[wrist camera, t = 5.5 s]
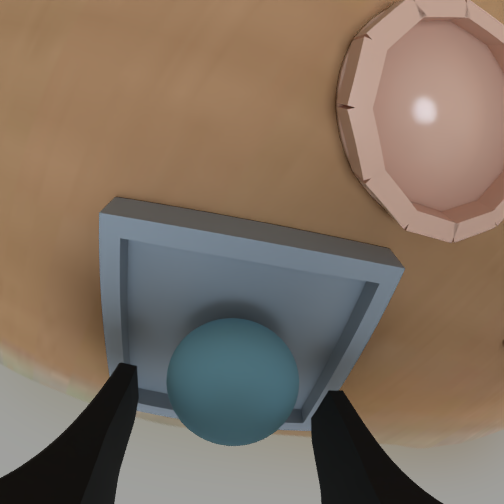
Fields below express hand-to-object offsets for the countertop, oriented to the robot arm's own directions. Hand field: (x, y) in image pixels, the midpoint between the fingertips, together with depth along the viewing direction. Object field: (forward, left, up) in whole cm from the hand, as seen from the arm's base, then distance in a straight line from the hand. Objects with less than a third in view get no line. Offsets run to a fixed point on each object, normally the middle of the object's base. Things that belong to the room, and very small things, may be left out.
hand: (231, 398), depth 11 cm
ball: (0, 0, -3) cm, 3 cm away
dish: (-6, -12, -4) cm, 13 cm away
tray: (0, 0, -4) cm, 4 cm away
